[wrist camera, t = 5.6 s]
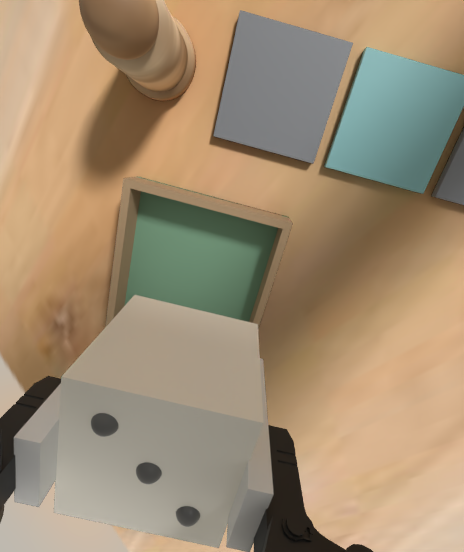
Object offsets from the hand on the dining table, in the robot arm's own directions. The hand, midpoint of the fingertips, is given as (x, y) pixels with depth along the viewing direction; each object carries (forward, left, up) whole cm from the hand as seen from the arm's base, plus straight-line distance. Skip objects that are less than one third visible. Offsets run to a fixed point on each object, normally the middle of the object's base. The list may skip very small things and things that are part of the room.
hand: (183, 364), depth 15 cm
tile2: (-15, +10, -14) cm, 23 cm away
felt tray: (0, -2, -14) cm, 14 cm away
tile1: (-15, +1, -14) cm, 20 cm away
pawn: (-15, -8, -14) cm, 22 cm away
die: (0, 0, 0) cm, 0 cm away
